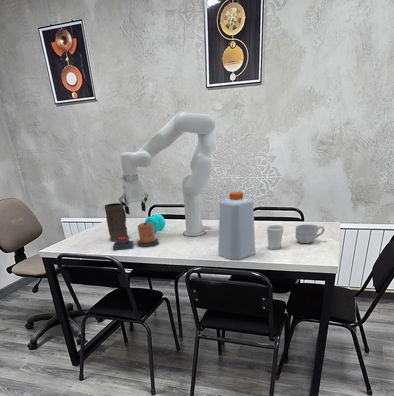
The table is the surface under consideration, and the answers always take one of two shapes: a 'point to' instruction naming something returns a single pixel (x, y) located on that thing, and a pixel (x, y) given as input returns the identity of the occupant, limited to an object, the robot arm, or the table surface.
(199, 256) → the table surface
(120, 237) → the button
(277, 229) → the dixie cup
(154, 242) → the base
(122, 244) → the switch box
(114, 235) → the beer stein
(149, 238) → the kettle
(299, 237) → the teacup
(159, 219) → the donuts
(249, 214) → the plastic bottle
